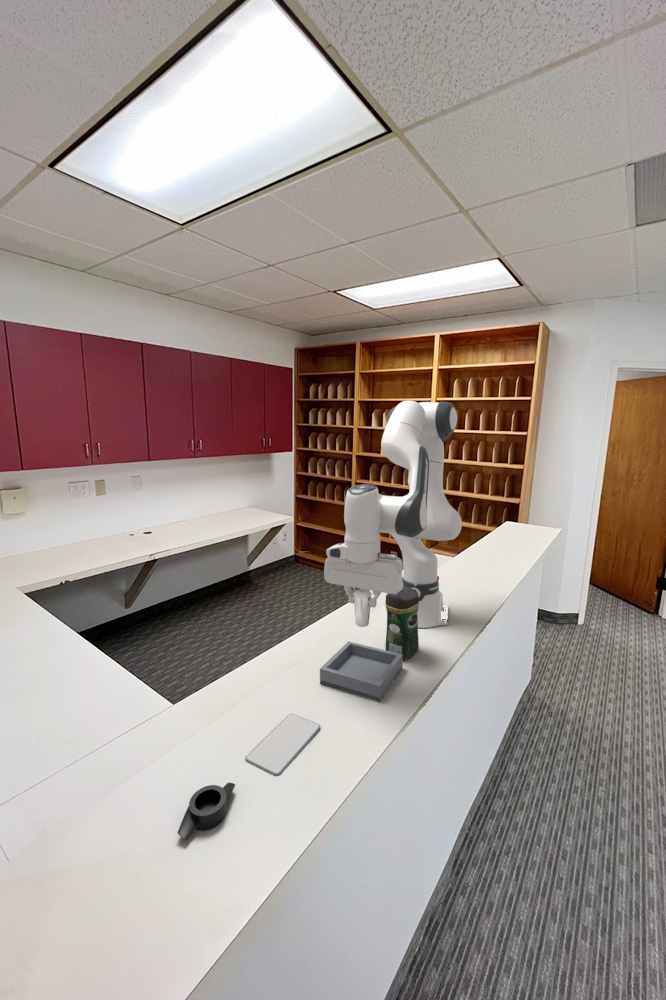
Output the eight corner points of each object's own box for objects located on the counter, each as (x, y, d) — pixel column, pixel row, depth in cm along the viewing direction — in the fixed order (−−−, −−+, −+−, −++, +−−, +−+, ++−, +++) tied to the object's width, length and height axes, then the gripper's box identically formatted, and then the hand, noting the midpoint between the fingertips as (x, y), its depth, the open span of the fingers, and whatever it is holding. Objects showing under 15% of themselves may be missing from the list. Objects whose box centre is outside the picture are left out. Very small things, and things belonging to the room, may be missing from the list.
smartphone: (243, 758, 78) (290, 712, 91) (243, 762, 78) (290, 716, 91) (277, 775, 74) (322, 725, 87) (278, 780, 74) (322, 729, 87)
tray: (348, 654, 117) (348, 641, 116) (402, 668, 109) (402, 654, 109) (320, 683, 103) (319, 668, 102) (379, 702, 95) (379, 686, 95)
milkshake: (357, 618, 108) (357, 581, 106) (374, 623, 104) (375, 585, 103) (347, 624, 104) (347, 586, 103) (364, 629, 101) (364, 590, 99)
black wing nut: (245, 821, 66) (244, 805, 65) (179, 850, 61) (178, 833, 61) (233, 786, 73) (232, 771, 72) (173, 809, 68) (172, 794, 68)
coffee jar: (400, 642, 124) (400, 582, 121) (422, 651, 118) (424, 589, 116) (380, 654, 117) (380, 591, 114) (403, 664, 111) (404, 598, 109)
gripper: (407, 552, 99) (406, 607, 101) (332, 543, 109) (333, 593, 111) (398, 559, 94) (397, 617, 96) (320, 549, 103) (321, 601, 105)
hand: (362, 604), depth 103 cm, fingers closed on milkshake, 4 cm apart
